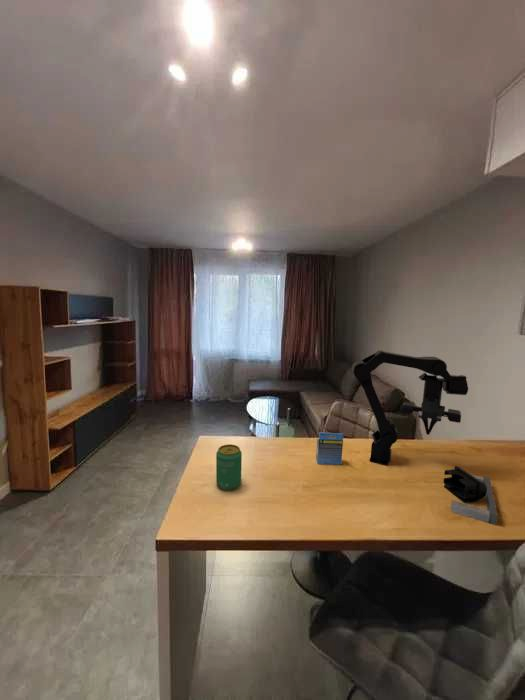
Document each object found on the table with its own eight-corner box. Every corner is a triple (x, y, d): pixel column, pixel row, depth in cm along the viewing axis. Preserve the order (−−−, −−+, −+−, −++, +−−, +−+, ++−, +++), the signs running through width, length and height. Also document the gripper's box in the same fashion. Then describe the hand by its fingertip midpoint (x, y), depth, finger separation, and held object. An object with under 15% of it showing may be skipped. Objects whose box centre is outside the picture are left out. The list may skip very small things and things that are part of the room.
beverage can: (245, 481, 108) (246, 446, 106) (233, 493, 101) (233, 457, 99) (224, 475, 111) (224, 441, 109) (211, 487, 104) (211, 451, 102)
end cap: (485, 502, 100) (488, 481, 99) (465, 504, 98) (468, 483, 97) (460, 484, 109) (462, 465, 108) (441, 485, 108) (444, 466, 107)
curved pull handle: (450, 511, 95) (452, 502, 94) (451, 476, 114) (452, 468, 113) (496, 525, 90) (497, 515, 89) (488, 485, 108) (489, 477, 108)
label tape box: (339, 460, 124) (341, 429, 122) (341, 465, 120) (343, 433, 118) (315, 459, 124) (317, 428, 122) (317, 464, 120) (319, 432, 118)
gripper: (401, 393, 114) (397, 436, 117) (463, 403, 105) (458, 449, 108) (405, 386, 124) (401, 426, 126) (462, 394, 115) (457, 437, 117)
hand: (427, 434), depth 119 cm, fingers closed
